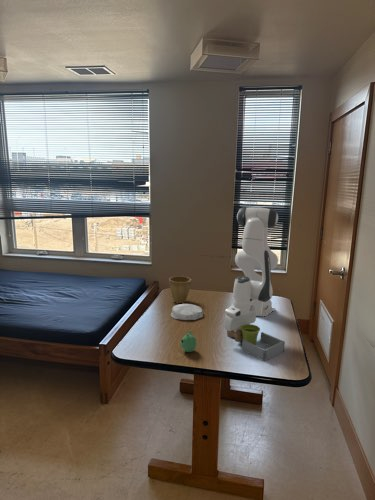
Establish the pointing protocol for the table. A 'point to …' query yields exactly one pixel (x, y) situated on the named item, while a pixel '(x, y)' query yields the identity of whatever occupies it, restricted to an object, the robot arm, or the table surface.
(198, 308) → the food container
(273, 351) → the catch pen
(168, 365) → the table surface
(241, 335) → the wooden angled block
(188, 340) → the alien toy
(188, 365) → the table surface
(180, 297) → the plant pot
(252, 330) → the plant pot
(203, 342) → the table surface
